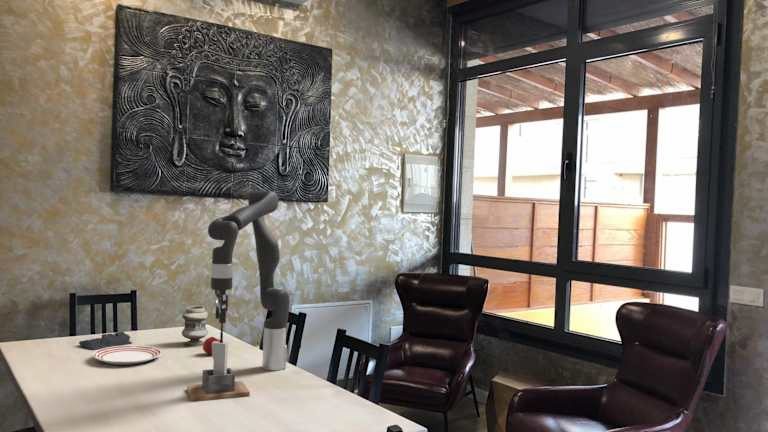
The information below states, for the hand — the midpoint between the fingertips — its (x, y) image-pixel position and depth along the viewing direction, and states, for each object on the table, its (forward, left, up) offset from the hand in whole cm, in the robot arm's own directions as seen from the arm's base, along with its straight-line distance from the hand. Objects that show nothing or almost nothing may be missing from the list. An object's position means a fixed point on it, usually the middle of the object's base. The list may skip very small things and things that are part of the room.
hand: (220, 320), depth 218 cm
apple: (-6, -56, -27) cm, 62 cm away
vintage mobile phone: (0, 0, -25) cm, 25 cm away
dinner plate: (+29, -57, -27) cm, 69 cm away
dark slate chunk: (+38, -88, -27) cm, 100 cm away
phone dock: (0, 0, -26) cm, 26 cm away
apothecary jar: (-1, -78, -26) cm, 82 cm away
